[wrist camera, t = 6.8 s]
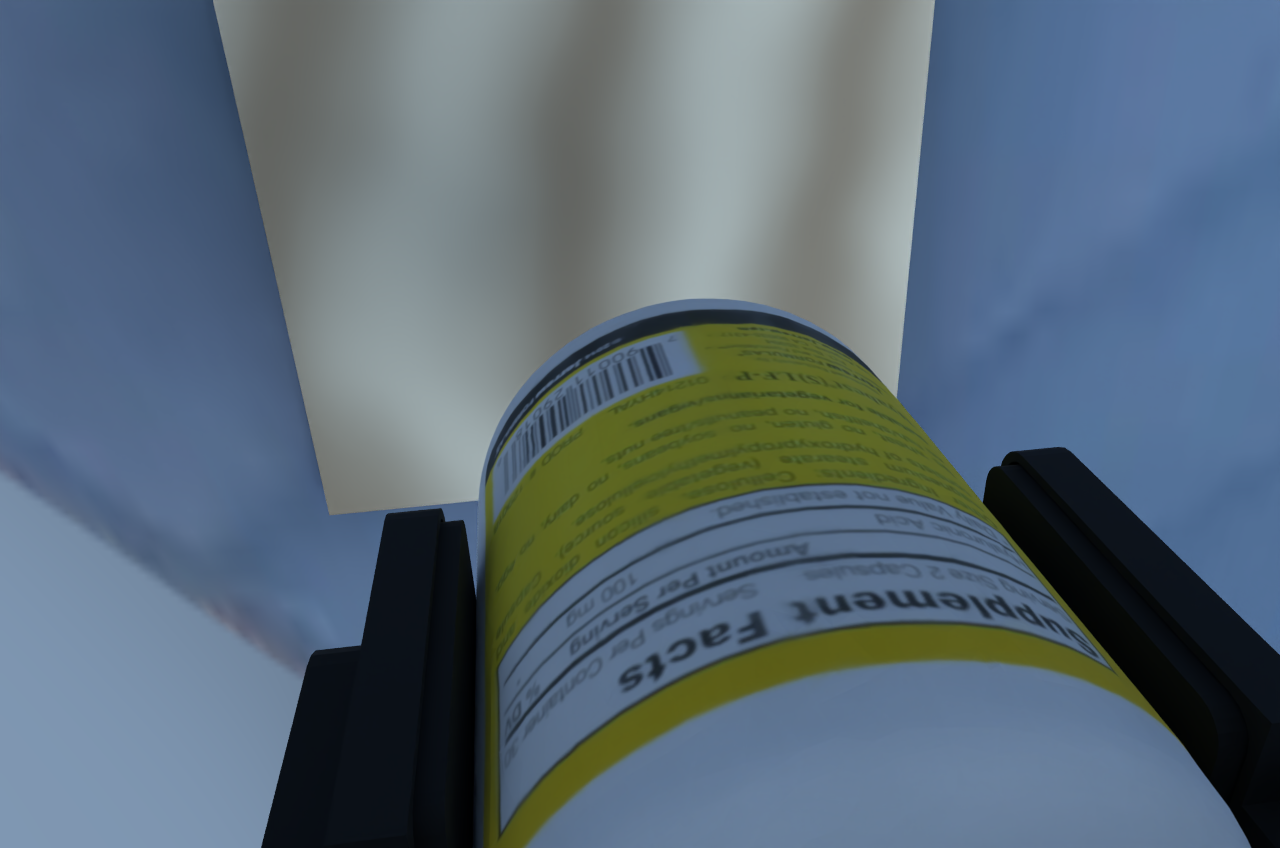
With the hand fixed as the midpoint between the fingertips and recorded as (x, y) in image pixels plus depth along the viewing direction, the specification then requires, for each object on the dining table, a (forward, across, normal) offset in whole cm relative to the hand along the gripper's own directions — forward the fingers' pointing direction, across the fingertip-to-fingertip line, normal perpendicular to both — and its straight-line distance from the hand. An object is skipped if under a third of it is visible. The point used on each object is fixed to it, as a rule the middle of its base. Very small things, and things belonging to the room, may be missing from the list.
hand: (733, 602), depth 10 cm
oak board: (+17, 0, 0) cm, 17 cm away
